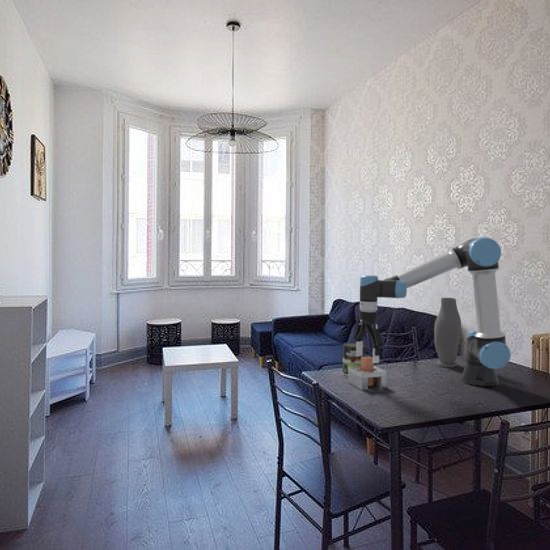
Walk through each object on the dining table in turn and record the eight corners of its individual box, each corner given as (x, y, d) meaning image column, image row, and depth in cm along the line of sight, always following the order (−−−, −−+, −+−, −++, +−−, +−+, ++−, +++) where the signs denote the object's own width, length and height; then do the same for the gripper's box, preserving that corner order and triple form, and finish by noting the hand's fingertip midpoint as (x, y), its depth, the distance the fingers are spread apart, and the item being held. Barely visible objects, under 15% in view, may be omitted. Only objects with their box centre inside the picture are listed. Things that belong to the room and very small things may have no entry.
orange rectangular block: (368, 383, 196) (368, 356, 195) (373, 385, 192) (373, 358, 191) (360, 383, 194) (360, 356, 194) (365, 386, 190) (365, 358, 190)
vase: (442, 360, 238) (443, 296, 236) (465, 365, 228) (467, 298, 226) (429, 365, 229) (430, 298, 227) (452, 370, 219) (454, 300, 217)
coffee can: (363, 377, 204) (364, 347, 203) (341, 376, 206) (342, 346, 205) (364, 372, 214) (365, 343, 213) (343, 370, 216) (343, 342, 215)
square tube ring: (371, 379, 201) (371, 364, 200) (386, 387, 189) (386, 371, 189) (347, 382, 197) (348, 366, 196) (361, 389, 185) (362, 373, 185)
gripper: (346, 307, 202) (345, 353, 203) (376, 315, 178) (375, 366, 179) (361, 307, 204) (360, 352, 205) (392, 314, 181) (391, 365, 182)
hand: (367, 359), depth 192 cm, fingers open, 13 cm apart
